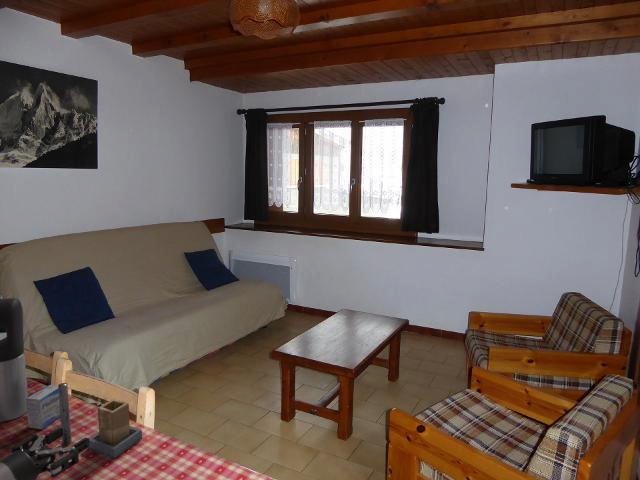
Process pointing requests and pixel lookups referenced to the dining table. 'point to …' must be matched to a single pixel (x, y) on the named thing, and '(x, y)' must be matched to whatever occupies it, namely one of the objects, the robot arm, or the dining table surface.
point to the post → (64, 413)
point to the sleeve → (113, 422)
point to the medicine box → (43, 407)
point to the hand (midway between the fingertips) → (74, 436)
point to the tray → (118, 449)
